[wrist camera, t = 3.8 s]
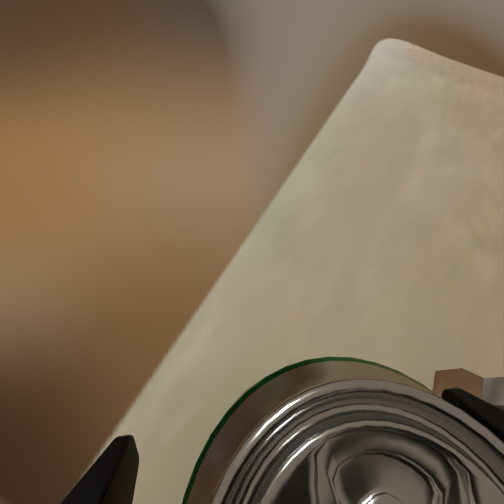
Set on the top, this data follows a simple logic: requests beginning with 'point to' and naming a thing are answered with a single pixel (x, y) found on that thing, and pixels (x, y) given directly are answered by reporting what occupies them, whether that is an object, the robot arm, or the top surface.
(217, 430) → the soda can
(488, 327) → the top surface
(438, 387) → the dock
